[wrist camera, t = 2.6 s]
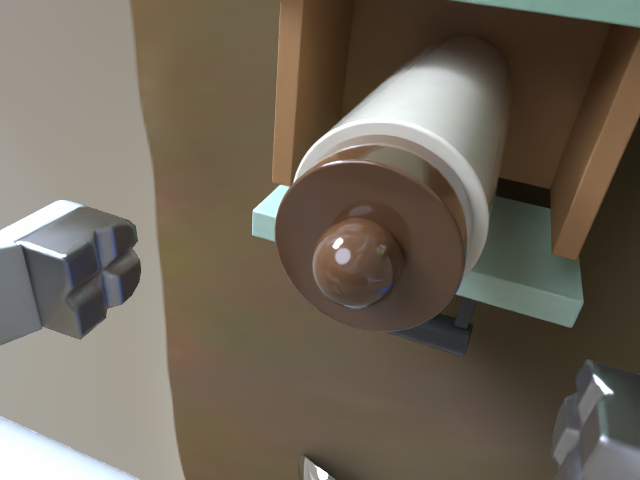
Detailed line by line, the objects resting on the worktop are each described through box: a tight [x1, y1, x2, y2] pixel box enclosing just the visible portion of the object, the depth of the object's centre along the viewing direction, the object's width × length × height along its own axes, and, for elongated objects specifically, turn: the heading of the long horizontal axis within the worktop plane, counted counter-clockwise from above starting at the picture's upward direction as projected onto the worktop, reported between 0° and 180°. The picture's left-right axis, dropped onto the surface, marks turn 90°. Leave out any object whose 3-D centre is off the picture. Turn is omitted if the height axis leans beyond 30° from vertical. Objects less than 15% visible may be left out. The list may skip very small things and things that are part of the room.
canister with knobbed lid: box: [275, 35, 515, 332], centre depth 15 cm, size 5×5×14 cm
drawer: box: [252, 0, 640, 357], centre depth 20 cm, size 18×12×7 cm
